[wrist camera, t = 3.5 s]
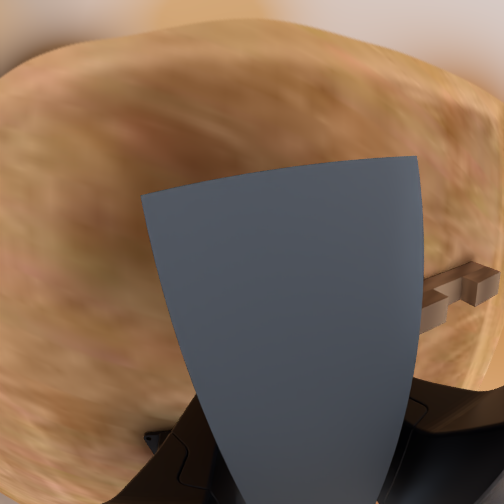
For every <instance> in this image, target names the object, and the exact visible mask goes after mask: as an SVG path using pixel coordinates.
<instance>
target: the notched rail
mask: <svg viewBox="0 0 504 504" xmlns="http://www.w3.org/2000/svg"><path fill="white" fill-rule="evenodd" d="M499 280H500V271H497V270H494V269H492V268H489V267H486V266H483V265H481V264H478V263H475V262H470V263H467V264H465V265H462V266H459V267H457V268H454V269H452V270H449V271H446V272H444V273H441V274H438V275H436V276H433V277H430V278H427V279H425V280H423V297H422V311H421V322H420V332H419V335H420V334H422V333H424V332H426V331H428V330H431V329H433V328H435V327H437V326H439V325H441V324H443V323H445V322H446V317H447V309H448V305H450V304H452V303H454V302H456V301H458V300H460V299H461V300H463V301H465V302H466V303H468V304H470V305H472V306H474V307H476V306H477V305H479V304H481V303H483V302H485V301H486V300H488V299H490V298H491V297H493V296H495V295H496V294H498V288H499Z"/></svg>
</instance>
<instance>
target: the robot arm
mask: <svg viewBox="0 0 504 504" xmlns="http://www.w3.org/2000/svg"><path fill="white" fill-rule="evenodd" d="M149 437H150V438H149ZM144 440H145V441H146V443H147V445H148V446H149V448H150V449H151V451H152V452H153V454H154V456H153V457H152V458H151V459H150V460H149V462H148V463H147V464H146V465H145V466H144V467H143V468H142V469H141V470H140V472H139V473H138V474H137V475H136V476H135V477H134V478H133V479H132V480H131V481H130V482H129V483H128V484H127V485H126V486H125V488H124V489H123V490H122V491H121V492H120V493H119V494H117V495H116V496H115V497H114V498H112V499H111V500H109V501H107V502H105V503H102V504H246V502H245V500H244V499H243V497H242V495H241V493H240V491H239V489H238V487H237V485H236V483H235V481H234V479H233V477H232V475H231V473H230V471H229V469H228V466H227V464H226V462H225V460H224V458H223V456H222V454H221V451H220V449H219V447H218V445H217V442H216V440H215V438H214V436H213V433H212V431H211V428H210V426H209V424H208V421H207V419H206V416H205V414H204V411H203V409H202V406H201V404H200V401H199V399H198V396H197V394H196V395H195V396H194V398H193V399H192V401H191V402H190V404H189V405H188V407H187V408H186V410H185V411H184V413H183V414H182V416H181V417H180V419H179V420H178V422H177V423H176V425H175V426H174V428H173V429H172V431H162V432H148V433H145V434H144ZM377 501H378V503H379V504H504V386H502V387H499V388H497V389H494V390H490V391H472V390H466V389H461V388H456V387H451V386H446V385H441V384H437V383H433V382H428V381H424V380H421V379H418V378H414V377H413V379H412V384H411V390H410V394H409V399H408V404H407V408H406V412H405V416H404V420H403V424H402V428H401V431H400V435H399V439H398V442H397V445H396V449H395V452H394V455H393V458H392V461H391V464H390V467H389V470H388V473H387V475H386V478H385V481H384V483H383V486H382V489H381V491H380V494H379V496H378V498H377Z"/></svg>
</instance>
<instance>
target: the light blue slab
mask: <svg viewBox="0 0 504 504" xmlns="http://www.w3.org/2000/svg"><path fill="white" fill-rule="evenodd" d="M141 200H142V205H143V210H144V215H145V220H146V225H147V229H148V234H149V238H150V242H151V247H152V251H153V255H154V259H155V263H156V267H157V271H158V275H159V279H160V282H161V286H162V290H163V293H164V297H165V300H166V304H167V307H168V311H169V314H170V317H171V321H172V324H173V327H174V330H175V333H176V336H177V340H178V343H179V346H180V349H181V352H182V355H183V358H184V361H185V363H186V366H187V369H188V372H189V375H190V377H191V380H192V383H193V386H194V388H195V391H196V394H197V396H198V399H199V401H200V404H201V406H202V409H203V411H204V414H205V416H206V419H207V421H208V424H209V426H210V428H211V431H212V433H213V436H214V438H215V440H216V442H217V445H218V447H219V449H220V451H221V454H222V456H223V458H224V460H225V462H226V464H227V466H228V469H229V471H230V473H231V475H232V477H233V479H234V481H235V483H236V485H237V487H238V489H239V491H240V493H241V495H242V497H243V499H244V500H245V502H246V504H375V503H376V501H377V498H378V496H379V494H380V491H381V489H382V486H383V483H384V481H385V478H386V475H387V473H388V470H389V467H390V464H391V461H392V458H393V455H394V452H395V449H396V445H397V442H398V439H399V435H400V431H401V428H402V424H403V420H404V416H405V412H406V408H407V404H408V399H409V394H410V390H411V384H412V379H413V374H414V368H415V362H416V355H417V348H418V340H419V332H420V322H421V311H422V297H423V275H424V234H423V212H422V198H421V187H420V177H419V169H418V161H417V156H403V157H386V158H372V159H359V160H348V161H338V162H328V163H319V164H311V165H303V166H295V167H288V168H280V169H274V170H267V171H260V172H254V173H248V174H242V175H236V176H231V177H225V178H220V179H214V180H209V181H204V182H199V183H194V184H189V185H184V186H180V187H175V188H170V189H166V190H162V191H157V192H153V193H149V194H145V195H141Z"/></svg>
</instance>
